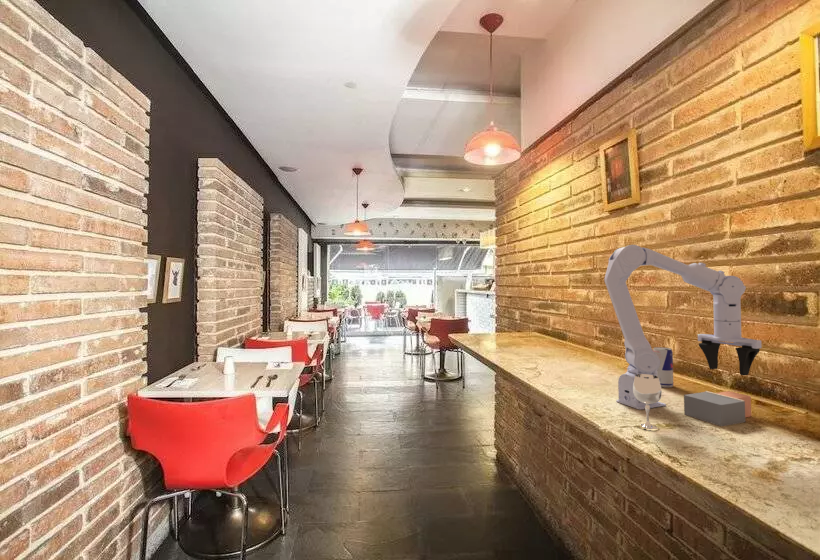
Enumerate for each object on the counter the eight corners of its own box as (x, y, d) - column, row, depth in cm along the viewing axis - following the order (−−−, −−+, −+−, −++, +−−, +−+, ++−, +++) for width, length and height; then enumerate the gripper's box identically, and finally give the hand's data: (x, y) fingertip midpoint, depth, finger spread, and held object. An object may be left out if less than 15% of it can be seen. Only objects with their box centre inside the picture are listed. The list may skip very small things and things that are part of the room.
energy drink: (677, 387, 126) (676, 349, 126) (660, 387, 126) (659, 350, 127) (666, 383, 132) (665, 347, 132) (650, 383, 132) (649, 347, 132)
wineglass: (652, 434, 89) (651, 380, 90) (628, 426, 95) (627, 375, 95) (667, 429, 92) (666, 377, 92) (643, 421, 97) (642, 372, 97)
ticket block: (721, 426, 93) (720, 404, 93) (684, 414, 102) (683, 394, 102) (745, 422, 95) (744, 400, 95) (707, 410, 104) (706, 390, 104)
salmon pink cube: (737, 418, 97) (736, 398, 97) (715, 412, 102) (715, 393, 102) (751, 416, 99) (750, 396, 99) (729, 410, 104) (729, 391, 104)
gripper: (769, 322, 101) (770, 376, 101) (709, 317, 114) (710, 365, 114) (750, 323, 98) (751, 378, 98) (691, 318, 112) (693, 367, 112)
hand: (728, 371), depth 106 cm, fingers open, 7 cm apart
